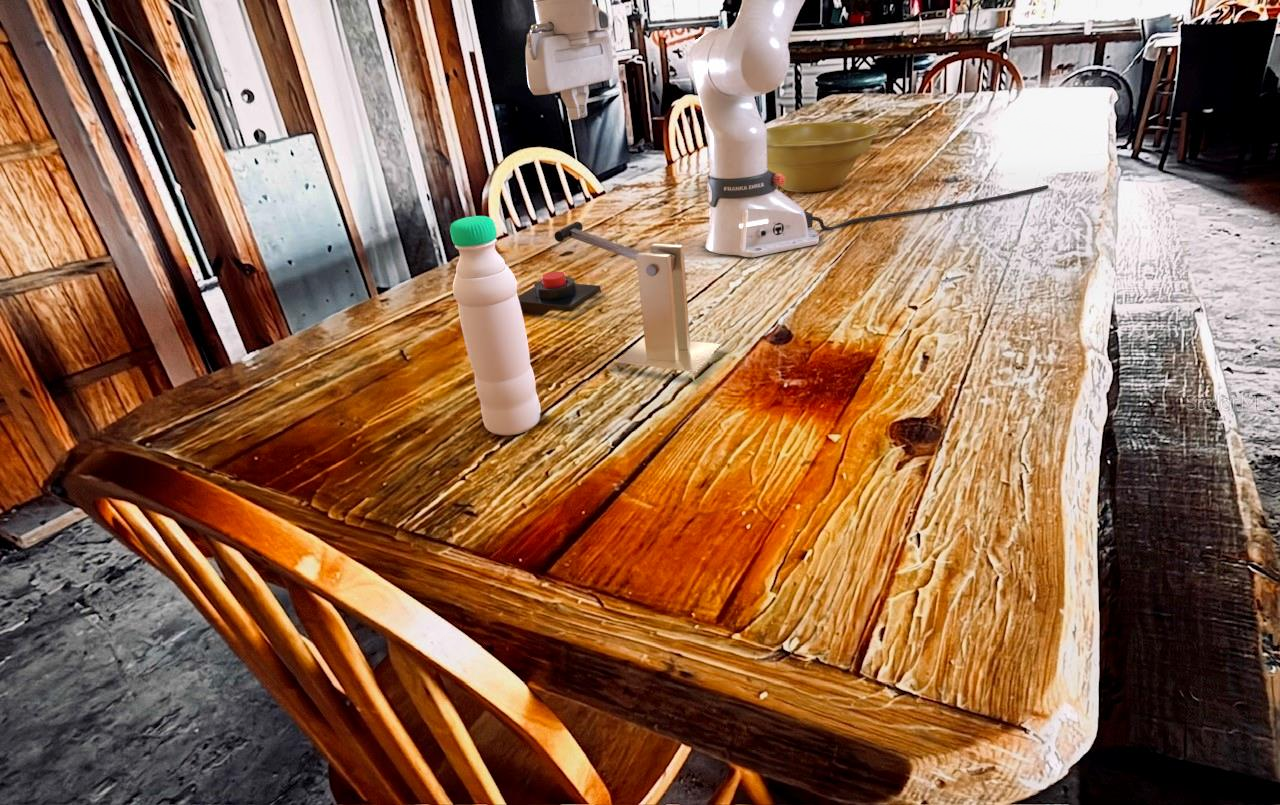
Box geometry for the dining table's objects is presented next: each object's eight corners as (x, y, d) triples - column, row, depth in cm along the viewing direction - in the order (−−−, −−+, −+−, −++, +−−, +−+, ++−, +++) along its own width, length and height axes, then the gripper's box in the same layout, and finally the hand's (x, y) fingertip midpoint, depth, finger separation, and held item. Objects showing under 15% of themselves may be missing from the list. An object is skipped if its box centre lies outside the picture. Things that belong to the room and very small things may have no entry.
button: (538, 288, 120) (536, 278, 119) (551, 280, 123) (549, 270, 122) (558, 289, 118) (556, 279, 117) (570, 282, 121) (569, 272, 120)
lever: (553, 243, 94) (554, 226, 93) (573, 233, 98) (574, 216, 96) (660, 281, 89) (664, 264, 88) (677, 269, 93) (680, 252, 92)
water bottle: (488, 412, 89) (442, 215, 77) (543, 405, 90) (506, 208, 78) (482, 441, 83) (431, 232, 71) (541, 433, 83) (501, 223, 72)
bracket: (616, 370, 97) (602, 258, 89) (645, 344, 104) (634, 238, 96) (696, 381, 91) (688, 263, 84) (721, 352, 98) (716, 241, 91)
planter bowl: (892, 194, 167) (897, 134, 160) (756, 207, 168) (755, 148, 162) (856, 169, 195) (859, 117, 189) (740, 180, 197) (739, 129, 190)
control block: (513, 312, 121) (508, 290, 119) (545, 292, 128) (541, 271, 127) (572, 318, 116) (568, 295, 114) (602, 297, 123) (599, 275, 121)
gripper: (544, 22, 97) (560, 128, 104) (615, 15, 113) (624, 108, 120) (508, 27, 100) (525, 129, 107) (581, 19, 116) (592, 109, 122)
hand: (578, 118), depth 113 cm, fingers closed
